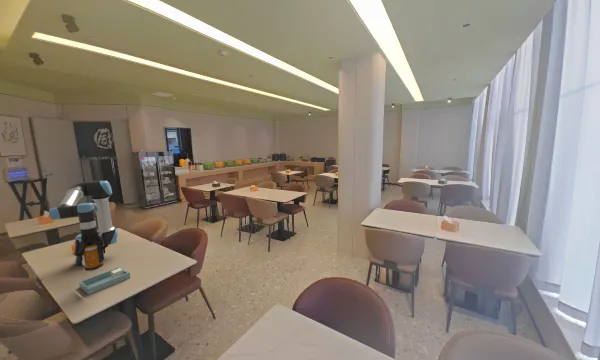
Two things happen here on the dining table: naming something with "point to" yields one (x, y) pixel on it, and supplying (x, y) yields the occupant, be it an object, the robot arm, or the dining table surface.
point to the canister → (93, 255)
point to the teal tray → (102, 281)
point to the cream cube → (116, 273)
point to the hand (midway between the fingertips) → (93, 261)
